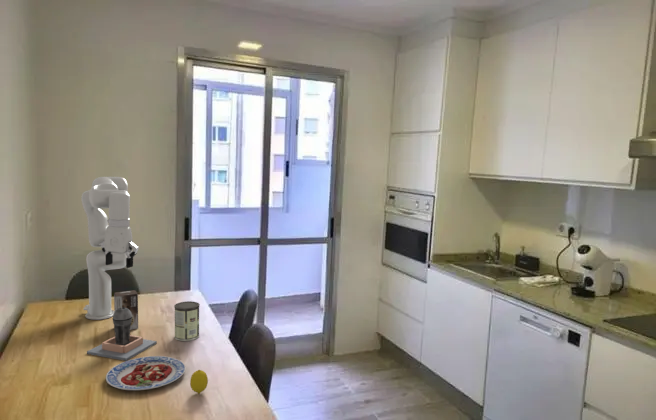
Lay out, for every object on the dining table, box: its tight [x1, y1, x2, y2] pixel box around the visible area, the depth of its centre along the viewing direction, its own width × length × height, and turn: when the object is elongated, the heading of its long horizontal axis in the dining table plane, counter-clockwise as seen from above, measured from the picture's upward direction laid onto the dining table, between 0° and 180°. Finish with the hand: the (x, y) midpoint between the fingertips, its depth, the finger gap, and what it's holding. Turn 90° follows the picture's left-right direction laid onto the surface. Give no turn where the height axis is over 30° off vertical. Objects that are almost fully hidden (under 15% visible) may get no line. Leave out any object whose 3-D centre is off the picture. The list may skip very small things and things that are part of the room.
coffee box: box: [113, 289, 139, 331], centre depth 206 cm, size 9×6×16 cm
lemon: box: [189, 369, 209, 394], centre depth 151 cm, size 6×6×8 cm
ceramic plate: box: [105, 355, 186, 391], centre depth 162 cm, size 26×26×3 cm
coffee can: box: [173, 300, 201, 342], centre depth 199 cm, size 10×10×14 cm
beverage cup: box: [112, 298, 132, 346], centre depth 183 cm, size 7×7×20 cm
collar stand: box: [86, 334, 157, 362], centre depth 184 cm, size 18×18×4 cm
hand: (119, 265), depth 185 cm, fingers open, 9 cm apart
